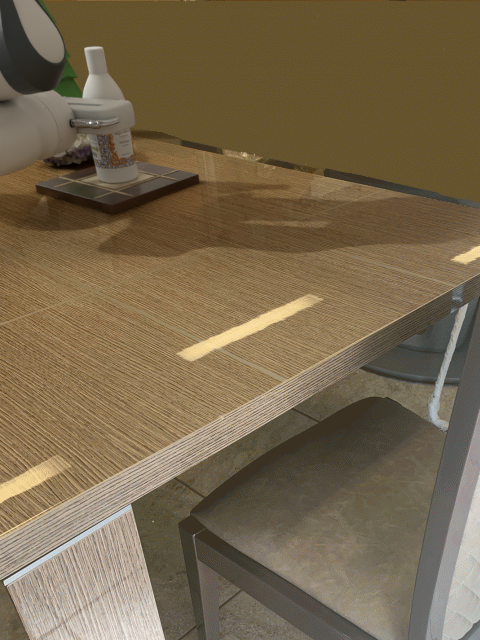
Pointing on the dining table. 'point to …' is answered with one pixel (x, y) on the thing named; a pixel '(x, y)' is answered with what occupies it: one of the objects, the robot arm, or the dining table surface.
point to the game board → (117, 187)
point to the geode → (74, 152)
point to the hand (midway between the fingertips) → (95, 103)
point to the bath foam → (111, 149)
